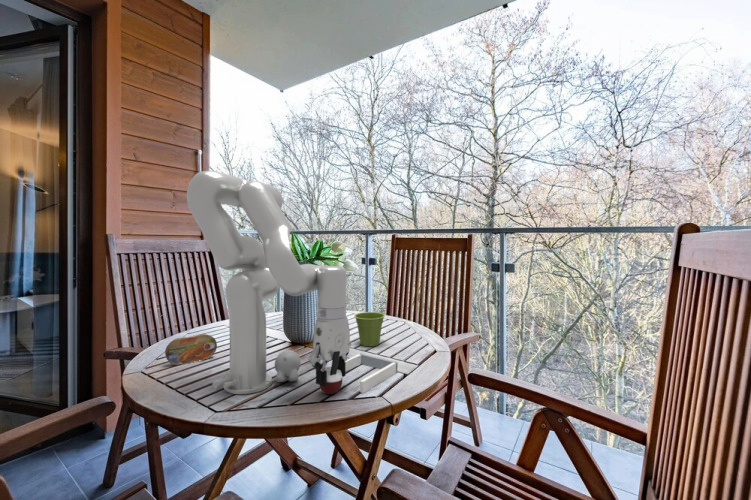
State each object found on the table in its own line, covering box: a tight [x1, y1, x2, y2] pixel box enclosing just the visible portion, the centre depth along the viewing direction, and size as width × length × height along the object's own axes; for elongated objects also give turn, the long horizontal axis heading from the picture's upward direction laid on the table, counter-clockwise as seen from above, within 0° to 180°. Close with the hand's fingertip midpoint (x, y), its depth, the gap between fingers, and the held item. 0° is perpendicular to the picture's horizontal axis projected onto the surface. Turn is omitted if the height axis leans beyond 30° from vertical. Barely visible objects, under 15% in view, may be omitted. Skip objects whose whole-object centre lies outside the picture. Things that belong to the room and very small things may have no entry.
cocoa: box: [319, 351, 344, 395], centre depth 92 cm, size 10×6×12 cm, turn 3°
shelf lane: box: [345, 353, 399, 394], centre depth 104 cm, size 18×14×3 cm
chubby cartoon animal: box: [274, 350, 302, 383], centre depth 102 cm, size 7×12×8 cm, turn 9°
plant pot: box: [353, 311, 386, 347], centre depth 135 cm, size 12×12×11 cm
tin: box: [164, 333, 218, 366], centre depth 115 cm, size 15×3×8 cm, turn 129°
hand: (331, 379), depth 93 cm, fingers open, 6 cm apart
